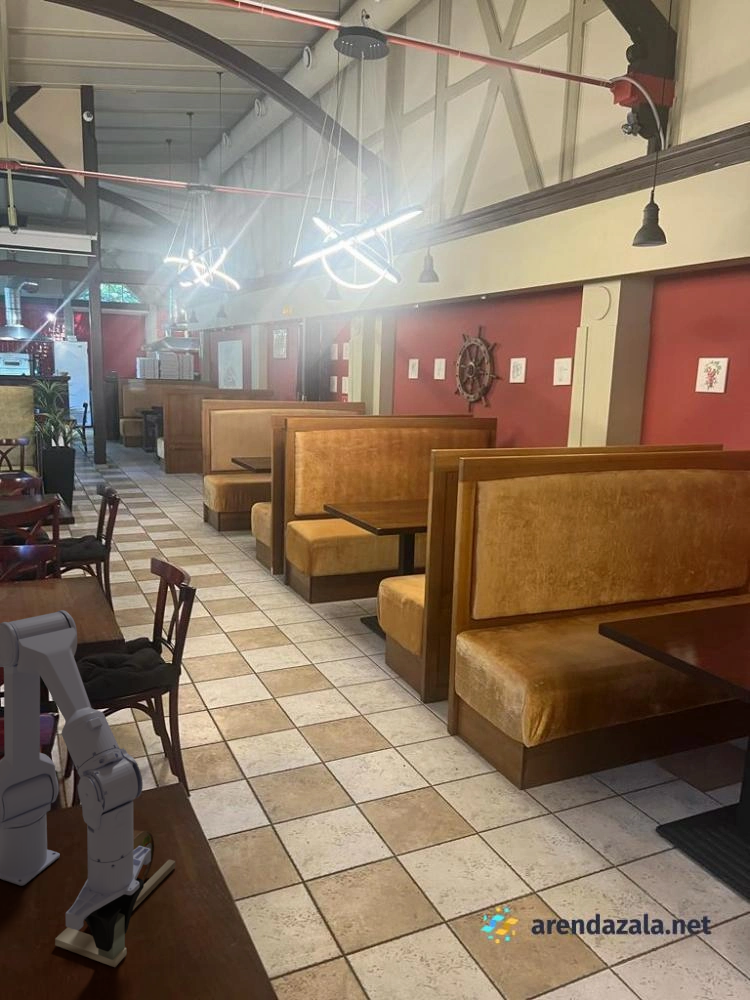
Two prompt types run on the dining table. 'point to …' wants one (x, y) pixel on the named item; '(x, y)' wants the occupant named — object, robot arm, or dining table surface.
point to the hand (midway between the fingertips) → (111, 939)
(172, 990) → the dining table surface
